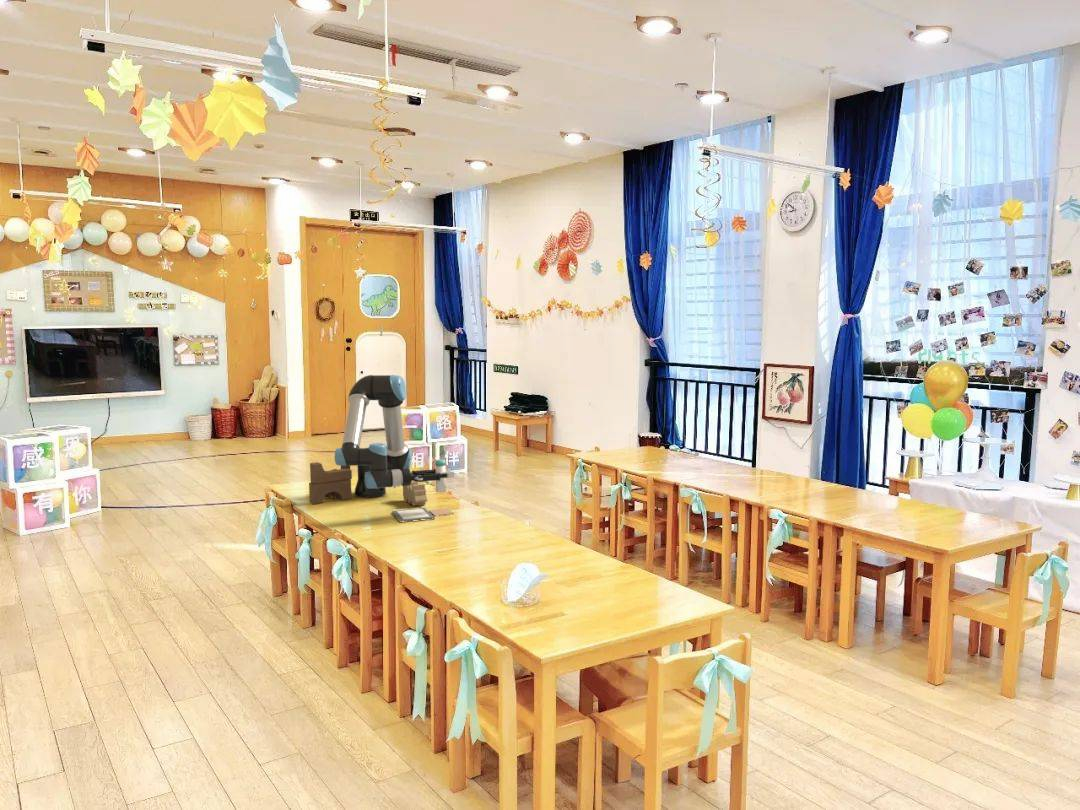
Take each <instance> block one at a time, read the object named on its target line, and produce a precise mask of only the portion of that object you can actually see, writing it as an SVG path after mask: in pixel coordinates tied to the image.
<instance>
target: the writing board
mask: <svg viewBox="0 0 1080 810" xmlns="http://www.w3.org/2000/svg"><path fill="white" fill-rule="evenodd" d="M391 513H392V514H393V516H394V517H395V516H396V517H397V518H398V519H399V520H400V521H401V522H402V521H413V520H421V519H432V518H435V517H436V516H433V515H432V514H431V513H430V512H429V510H428V509H427V508H426V507H418V508H409V509H398V510H392V511H391ZM396 517H395V518H396ZM397 518H396V519H397ZM398 519H397V520H398ZM435 519H436V518H435ZM399 520H398V521H399ZM432 520H433V519H432ZM400 521H399V522H400ZM401 522H400V523H401ZM413 522H414V521H413Z"/></svg>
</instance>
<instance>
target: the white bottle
mask: <svg viewBox="0 0 1080 810" xmlns="http://www.w3.org/2000/svg"><path fill="white" fill-rule="evenodd" d="M434 462H435V469H436V473H440V472H446V470H447V469H446V466H447V464H446V463H447V462H446V459H435V461H434ZM446 479H447V478H444V479H440V481H439V480H435V492H436V493H445V492H446V491H447V489H446V488H447V486H446V483H447V482H446V481H447V480H446Z"/></svg>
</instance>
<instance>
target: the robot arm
mask: <svg viewBox="0 0 1080 810" xmlns="http://www.w3.org/2000/svg"><path fill="white" fill-rule="evenodd" d="M406 390H407V387H406V382H405V379H404V378H403V377H402V376H401V375H396V374H395V375H394V374H391V375H389V374H388V375H385V374H381V375H379V374H377V375H375V374H373V375H372V374H370V375H365V376H363V377H361V378H360V379H358V380H357V381H356V382H355V383H354V384H353V385H352V387H351V388H350V391H349V393H348V398H347V401H348V403H349V406H348V411H347V415H346V423H345V428H344V432H343V437H342V443H341V447H337V448H336V449H335V451H334V462H335V464H336V465H337V466H340V467H341V466H350V467H351V466H357V481H356V484H355V487H354V496H355V495H356V496H355V497H359V498H378V497H382V496H385V495H387V488H393V489H396V487H401V486H402V487H403V486H409V485H410V484H411V481H415V482H418V483H422V482H432V481H433V482H434V481H436V480H439V481H440V479H444V478H446V479H451V478H454V479H455V471H452V469H451V468H449V469H446V472H440V473H436V468H433V469H424V470H423V469H422V470H412V471H411V466H412V458H413V450H412V449H409V447H408V445H407V443H405V436H404V425H403V418H402V408H401V405H403V403H404V400H405V401H406V398H407V391H406ZM370 401H377V402H378V406H380V407H381V409H382V417H383V425H384V434H385V443H386V444H385V443H382V442H376V443H375V442H373V443H369V446H368V447H361V441H362V435H363V429H364V422H365V416H366V410H367V407H368V405H370Z"/></svg>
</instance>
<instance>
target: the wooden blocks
mask: <svg viewBox="0 0 1080 810" xmlns="http://www.w3.org/2000/svg"><path fill="white" fill-rule="evenodd" d="M309 470H310V473H309V474H310V476H309V477H310V482H309V483H308V485H309V486H308V488H309V489H308V490H309V491H308V493H309V503H310V504H312V505H317V504H322V503H323V501H324V498H327V499H332V497H334V498H335V499H340V500H342V501H345V500H351V499H352V479H353V475H352V474H353V473H352V471H353V470H352V469H351V466H341V465H340V469H337V468H333V469H330V470H325V469H324V466H323V464H322V462H317V461H316V462H310V463H309Z"/></svg>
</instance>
